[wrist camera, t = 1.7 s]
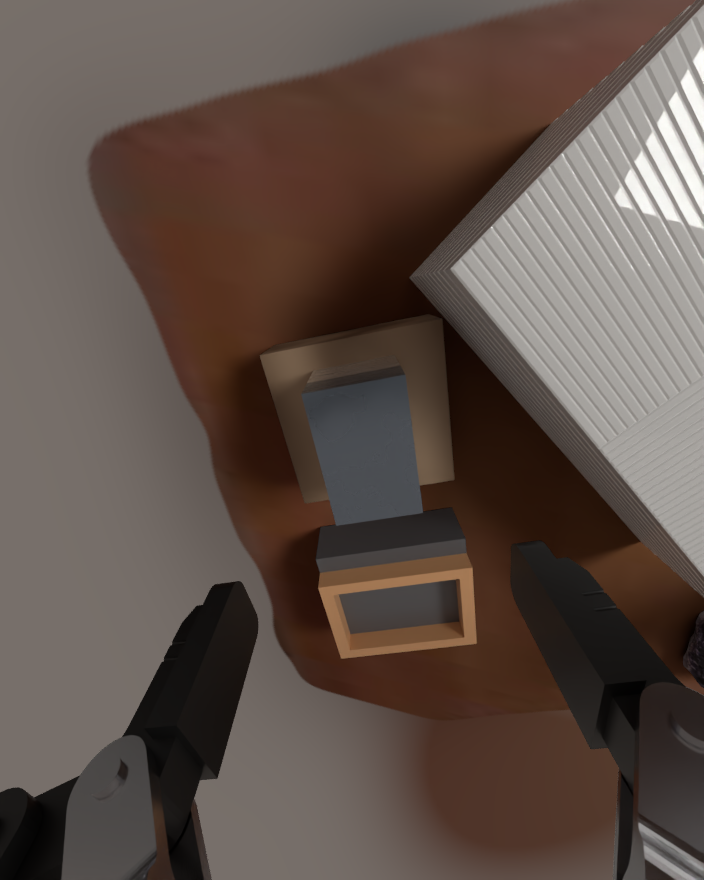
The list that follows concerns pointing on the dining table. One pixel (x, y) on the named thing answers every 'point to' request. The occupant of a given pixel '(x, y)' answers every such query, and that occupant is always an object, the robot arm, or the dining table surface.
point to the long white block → (603, 289)
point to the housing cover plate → (365, 444)
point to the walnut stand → (405, 338)
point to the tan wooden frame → (397, 584)
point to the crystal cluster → (696, 652)
